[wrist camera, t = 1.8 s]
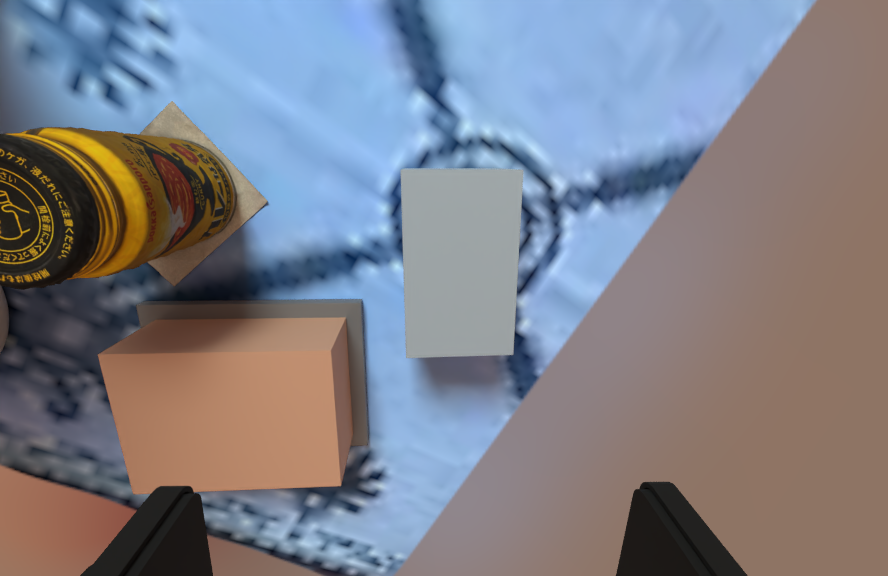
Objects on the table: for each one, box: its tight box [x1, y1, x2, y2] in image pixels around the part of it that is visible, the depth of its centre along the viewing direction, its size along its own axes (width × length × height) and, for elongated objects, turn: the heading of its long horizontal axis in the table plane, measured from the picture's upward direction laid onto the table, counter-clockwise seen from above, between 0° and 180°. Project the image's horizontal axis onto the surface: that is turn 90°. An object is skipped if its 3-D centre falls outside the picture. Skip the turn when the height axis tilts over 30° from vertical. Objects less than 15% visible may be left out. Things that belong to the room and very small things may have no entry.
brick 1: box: [98, 317, 353, 494], centre depth 26 cm, size 12×9×5 cm
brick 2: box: [401, 169, 523, 358], centre depth 24 cm, size 10×6×6 cm, turn 0°
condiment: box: [0, 101, 268, 290], centre depth 19 cm, size 7×8×12 cm
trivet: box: [136, 299, 369, 446], centre depth 28 cm, size 11×14×1 cm
